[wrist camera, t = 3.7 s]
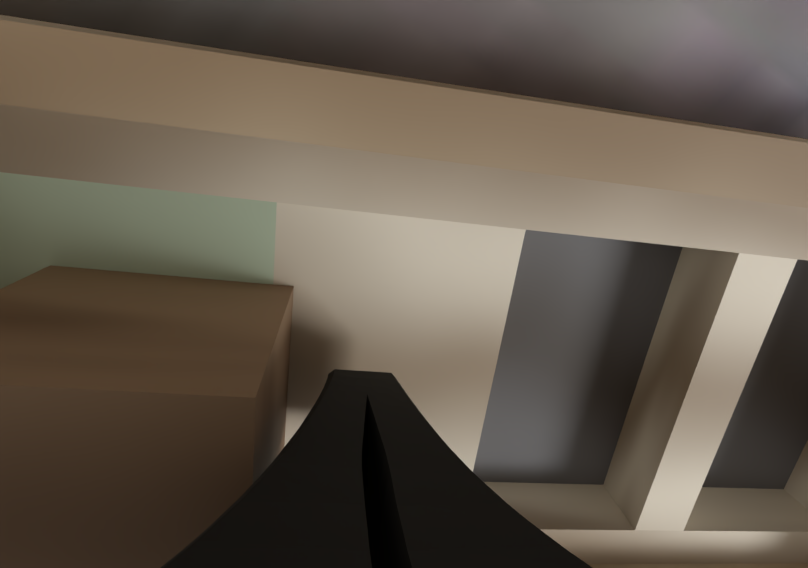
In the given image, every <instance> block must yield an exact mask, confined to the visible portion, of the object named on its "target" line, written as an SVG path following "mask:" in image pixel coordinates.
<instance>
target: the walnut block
mask: <svg viewBox="0 0 808 568" xmlns="http://www.w3.org/2000/svg"><path fill="white" fill-rule="evenodd" d="M293 291H294V286H284V285H273V284H261V283H249V282H238V281H226V280H214V279H203V278H191V277H180V276H168V275H156V274H145V273H133V272H121V271H110V270H98V269H87V268H75V267H63V266H52V265H50V266H48V267H46V268H43V269H41V270H39V271H37V272H35V273H33V274H31V275H29V276H27V277H25V278H23V279H20V280H18V281H16V282H14V283H12V284H10V285H8V286H6V287H4V288H2V289H0V568H160V567H162V566H163V565H164V564H165V563H167V562H168V561H169V560H170V559H172V558H173V557H174V556H175V555H177V554H178V553H179V552H180V551H182V550H183V549H184V548H185V547H187V546H188V545H189V544H190V543H191V542H192V541H194V540H195V539H196V538H197V537H198V536H199V535H200V534H201V533H203V532H204V531H205V530H206V529H207V528H208V527H209V526H210V525H211V524H212V523H214V522H215V521H216V520H217V519H218V518H219V517H220V516H221V515H222V514H223V513H224V512H225V511H226V510H227V509H228V508H229V507H230V506H231V505H232V504H234V503H235V502H236V501H237V500H238V499H239V498H240V497H241V496H242V495H243V494H244V493H245V492H246V490H247V489H248V488H249V487H250V486H251V485H252V484H253V483H254V482H255V481H256V480H257V479H258V478H259V477H260V476H261V474H262V473H263V472H264V471H265V470H266V469H267V468H268V467H269V465H270V464H271V463H272V462H273V461H274V460H275V458H276V457H277V456H278V455H279V453H280V452H281V451H282V449H283V448H284V445H285V428H286V410H287V393H288V376H289V359H290V342H291V325H292V308H293Z"/></svg>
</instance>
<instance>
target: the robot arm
mask: <svg viewBox="0 0 808 568" xmlns="http://www.w3.org/2000/svg"><path fill="white" fill-rule="evenodd" d="M160 568H592V567H591V566H590V565H588V564H587V563H585V562H584V561H582V560H581V559H580V558H578V557H577V556H575V555H574V554H572V553H571V552H569V551H568V550H567V549H565V548H564V547H562V546H561V545H560V544H558V543H557V542H556V541H555V540H553V539H552V538H551V537H549V536H548V535H547V534H545V533H544V532H543V531H541V530H540V529H539V528H537V527H536V526H535V525H533V524H532V523H531V522H530V521H528V520H527V519H526V518H524V517H523V516H522V515H521V514H520V513H518V512H517V511H516V510H515V509H513V508H512V507H511V506H510V505H509V504H507V503H506V502H505V501H504V500H503V499H502V498H501V497H500V496H499V495H497V494H496V493H495V492H494V491H493V490H492V489H491V488H490V487H489V486H487V485H486V484H485V483H484V482H483V481H482V480H481V479H480V478H479V477H478V476H477V475H476V474H475V473H473V472H472V471H471V470H470V469H469V468H468V467H467V466H466V465H465V464H464V462H463V461H462V460H461V459H460V458H459V457H458V456H457V455H456V454H455V453H454V452H453V451H452V450H451V449H450V448H449V446H448V445H447V444H446V443H445V442H444V441H443V440H442V438H441V437H440V436H439V435H438V434H437V432H436V431H435V430H434V429H433V427H432V426H431V425H430V424H429V422H428V421H427V420H426V419H425V418H424V416H423V415H422V414H421V412H420V411H419V410H418V408H417V407H416V406H415V404H414V403H413V402H412V400H411V399H410V398H409V396H408V395H407V393H406V392H405V390H404V389H403V388H402V386H401V385H400V383H399V382H398V380H397V379H396V378H395V376H394V375H393V374H392V373H389V372H372V371H356V370H340V369H334V370H333V371H331V372H330V373H329V374H328V378H327V381H326V383H325V385H324V388H323V390H322V392H321V394H320V395H319V397H318V399H317V401H316V402H315V404H314V406H313V407H312V409H311V410H310V412H309V413H308V415H307V417H306V418H305V420H304V421H303V423H302V424H301V426H300V427H299V429H298V430H297V431H296V433H295V434H294V435H293V437H292V438H291V439H290V440H289V442H288V443H287V444H286V446H285V447H284V448H283V449H282V451H281V452H280V453H279V455H278V456H277V457H276V458H275V460H274V461H273V462H272V463H271V464H270V465H269V467H268V468H267V469H266V470H265V471H264V472H263V473H262V474H261V476H260V477H259V478H258V479H257V480H256V481H255V482H254V483H253V484H252V485H251V486H250V487H249V488H248V489H247V490H246V492H245V493H244V494H243V495H242V496H241V497H240V498H239V499H238V500H237V501H236V502H235V503H234V504H232V505H231V506H230V507H229V508H228V509H227V510H226V511H225V512H224V513H223V514H222V515H221V516H220V517H219V518H218V519H217V520H216V521H215V522H214V523H212V524H211V525H210V526H209V527H208V528H207V529H206V530H205V531H204V532H203V533H201V534H200V535H199V536H198V537H197V538H196V539H195V540H194V541H192V542H191V543H190V544H189V545H188V546H187V547H185V548H184V549H183V550H182V551H180V552H179V553H178V554H177V555H175V556H174V557H173V558H172V559H170V560H169V561H168V562H167V563H165V564H164V565H163V566H162V567H160Z"/></svg>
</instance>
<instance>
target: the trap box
mask: <svg viewBox="0 0 808 568" xmlns="http://www.w3.org/2000/svg"><path fill="white" fill-rule="evenodd" d="M50 265H52V266H63V267H75V268H87V269H98V270H110V271H121V272H133V273H145V274H156V275H168V276H180V277H191V278H203V279H214V280H226V281H238V282H249V283H261V284H273V285H284V286H294V291H293V308H292V325H291V342H290V359H289V376H288V393H287V410H286V428H285V445H284V447H285V446H286V444H287V443H288V442H289V440H290V439H291V438H292V437H293V435H294V434H295V433H296V431H297V430H298V429H299V427H300V426H301V424H302V423H303V421H304V420H305V418H306V417H307V415H308V413H309V412H310V410H311V409H312V407H313V406H314V404H315V402H316V401H317V399H318V397H319V395H320V394H321V392H322V390H323V388H324V385H325V383H326V381H327V378H328V374H329V373H330V372H331V371H333V370H334V369H340V370H356V371H372V372H389V373H392V374H393V375H394V376H395V378H396V379H397V380H398V382H399V383H400V385H401V386H402V388H403V389H404V390H405V392H406V393H407V395H408V396H409V398H410V399H411V400H412V402H413V403H414V404H415V406H416V407H417V408H418V410H419V411H420V412H421V414H422V415H423V416H424V418H425V419H426V420H427V421H428V422H429V424H430V425H431V426H432V427H433V429H434V430H435V431H436V432H437V434H438V435H439V436H440V437H441V438H442V440H443V441H444V442H445V443H446V444H447V445H448V446H449V448H450V449H451V450H452V451H453V452H454V453H455V454H456V455H457V456H458V457H459V458H460V459H461V460H462V461H463V462H464V464H465V465H466V466H467V467H468V468H469V469H470V470H471V471H472V472H473V473H475V474H476V475H477V476H478V477H479V478H480V479H481V480H482V481H483V482H484V483H485V484H486V485H487V486H489V487H490V488H491V489H492V490H493V491H494V492H495V493H496V494H497V495H499V496H500V497H501V498H502V499H503V500H504V501H505V502H506V503H507V504H509V505H510V506H511V507H512V508H513V509H515V510H516V511H517V512H518V513H520V514H521V515H522V516H523V517H524V518H526V519H527V520H528V521H530V522H531V523H532V524H533V525H535V526H536V527H537V528H539V529H540V530H541V531H543V532H544V533H545V534H547V535H548V536H549V537H551V538H552V539H553V540H555V541H556V542H557V543H558V544H560V545H561V546H562V547H564V548H565V549H567V550H568V551H569V552H571V553H572V554H574V555H575V556H577V557H578V558H580V559H581V560H582V561H584V562H585V563H587V564H588V565H590V566H591V567H592V568H808V139H803V138H796V137H790V136H783V135H777V134H770V133H764V132H758V131H751V130H745V129H738V128H732V127H725V126H719V125H712V124H706V123H699V122H693V121H686V120H680V119H673V118H667V117H660V116H654V115H647V114H641V113H634V112H628V111H621V110H615V109H608V108H602V107H595V106H589V105H582V104H576V103H569V102H563V101H556V100H550V99H543V98H537V97H531V96H524V95H518V94H511V93H505V92H498V91H492V90H485V89H479V88H472V87H466V86H459V85H453V84H446V83H440V82H433V81H427V80H420V79H414V78H407V77H401V76H394V75H388V74H381V73H375V72H368V71H362V70H355V69H349V68H342V67H336V66H329V65H323V64H316V63H310V62H303V61H297V60H291V59H284V58H278V57H271V56H265V55H258V54H252V53H245V52H239V51H232V50H226V49H219V48H213V47H206V46H200V45H193V44H187V43H180V42H174V41H167V40H161V39H154V38H148V37H141V36H135V35H128V34H122V33H115V32H109V31H102V30H96V29H89V28H83V27H76V26H70V25H64V24H57V23H51V22H44V21H38V20H31V19H25V18H18V17H12V16H5V15H0V289H2V288H4V287H6V286H8V285H10V284H12V283H14V282H16V281H18V280H20V279H23V278H25V277H27V276H29V275H31V274H33V273H35V272H37V271H39V270H41V269H43V268H46V267H48V266H50Z"/></svg>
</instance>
